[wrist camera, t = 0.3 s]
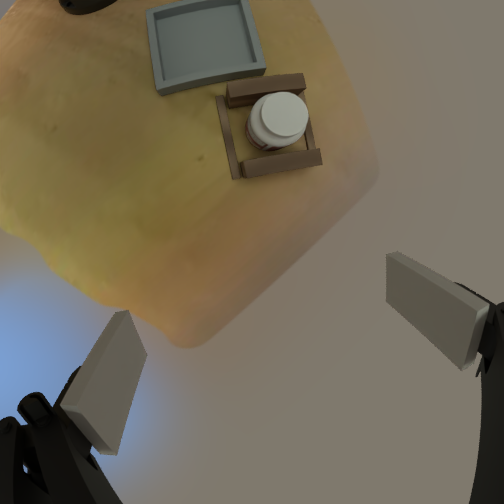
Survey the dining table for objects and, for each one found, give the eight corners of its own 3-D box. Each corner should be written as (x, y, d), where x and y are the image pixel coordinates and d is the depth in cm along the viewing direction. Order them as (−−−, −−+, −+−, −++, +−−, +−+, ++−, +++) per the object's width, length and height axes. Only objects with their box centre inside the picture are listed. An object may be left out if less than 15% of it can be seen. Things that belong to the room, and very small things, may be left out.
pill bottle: (294, 114, 35) (322, 95, 24) (284, 156, 36) (309, 151, 26) (250, 103, 34) (261, 77, 23) (239, 145, 35) (246, 134, 25)
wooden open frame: (215, 97, 33) (214, 84, 27) (300, 85, 34) (313, 72, 28) (232, 179, 37) (234, 180, 31) (317, 163, 37) (333, 163, 31)
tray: (150, 19, 28) (145, 10, 25) (243, 1, 29) (245, -10, 26) (161, 95, 32) (156, 90, 29) (263, 75, 33) (266, 67, 30)
